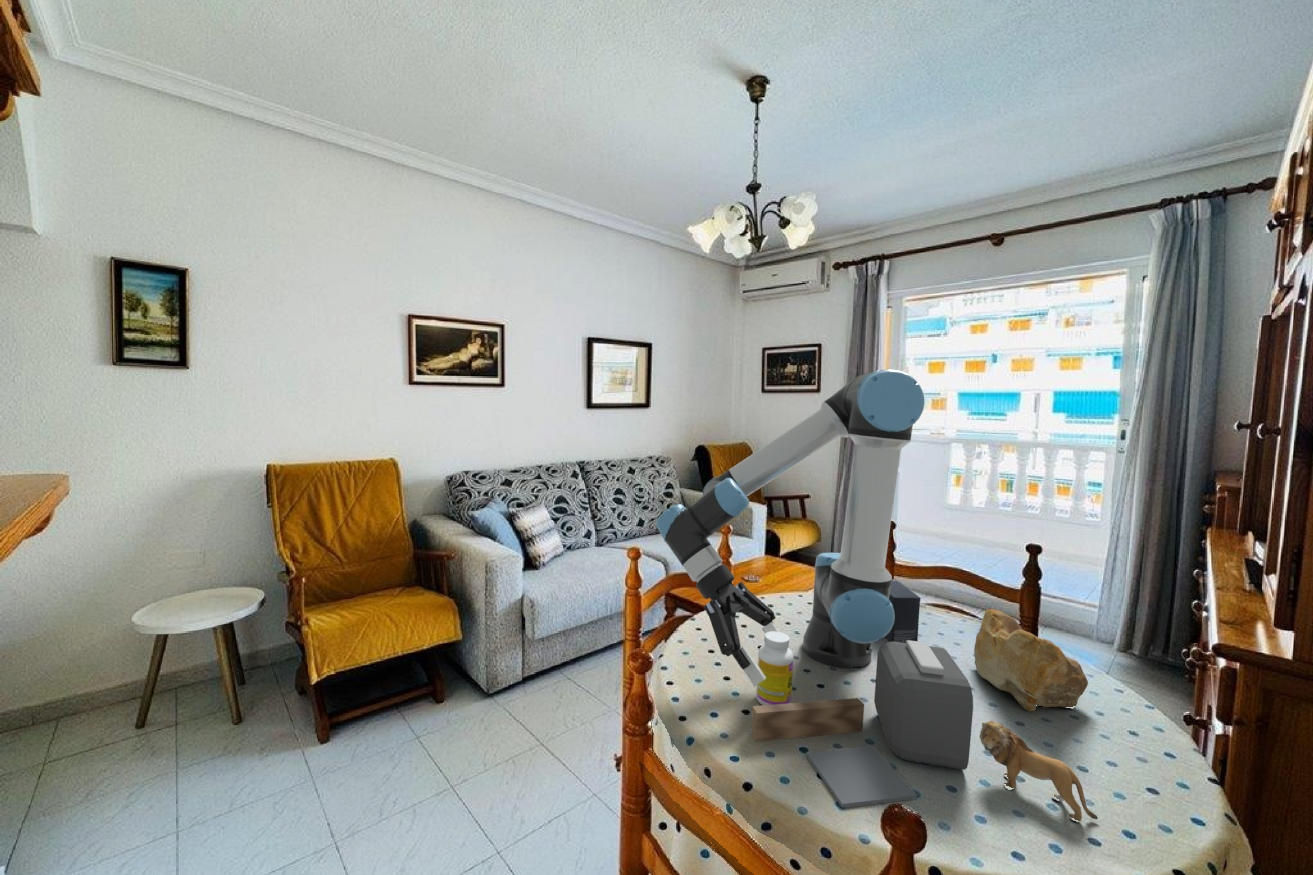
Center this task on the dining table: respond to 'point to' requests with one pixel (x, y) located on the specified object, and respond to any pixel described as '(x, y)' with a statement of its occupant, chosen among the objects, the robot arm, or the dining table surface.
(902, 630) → the small box
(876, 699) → the alarm clock
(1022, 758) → the lion figurine
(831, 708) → the walnut rail
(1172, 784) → the dining table surface
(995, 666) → the rough brown rock
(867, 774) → the rubber mat
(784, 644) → the supplement bottle
